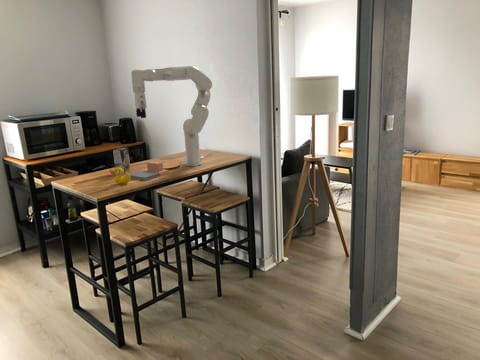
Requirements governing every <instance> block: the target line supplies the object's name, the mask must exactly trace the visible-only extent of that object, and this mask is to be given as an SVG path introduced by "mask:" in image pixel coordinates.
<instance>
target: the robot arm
mask: <svg viewBox="0 0 480 360" xmlns="http://www.w3.org/2000/svg"><path fill="white" fill-rule="evenodd" d="M130 74H131V84H132V92H133V93H134V94H133V95H134V106H135V111H136V112H135V114H136V117H137V118H141V119H146V118H147V114H146V109H147V100H146V85H145V82H150V83H151V82H155V81H156V82H157V81H168V82H169V81H170V82H173V81H187V80H189V81H190V80H191V81H192V82H193V83H194V84H195V88H196V90H197V97H196V99H195V100H194V104H193V106H192V107H191V110H190V114H191V116H192V117H191V118H186V120H185V119H184V122H183V124H182V125H183V127H182V129H183V134H184V145H185V146H184V147H185V158H186V159H185V160H186V161H185V162H183V165H184V166H188V167H196V166H201V165H203V161H202V160H204V159H205V157H204V156H200V153H201V152H200V137H199V134H200V133H201V132H202V130H203V128H204V126H205V124H206V122H207V120H208V117H209V114H210V113H209V108H208V105H209V102H210V100H211V89H212V86H213V82H212V80H211V78H209V77H208V76H207V75H206V74H205V73H204V72H203V71H201V70H200V69H199V68H198V67H196V66H194V65H186V66H168V67H163V68H152V69H150V68H148V69H132V70H131V72H130Z"/></svg>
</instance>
